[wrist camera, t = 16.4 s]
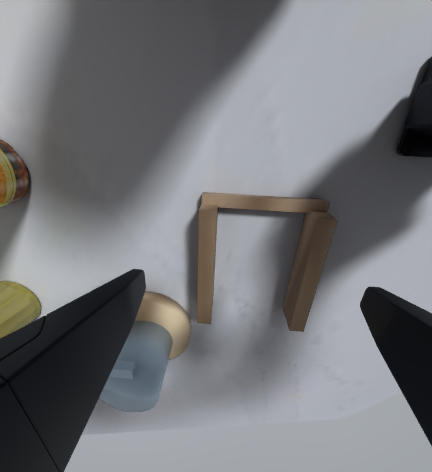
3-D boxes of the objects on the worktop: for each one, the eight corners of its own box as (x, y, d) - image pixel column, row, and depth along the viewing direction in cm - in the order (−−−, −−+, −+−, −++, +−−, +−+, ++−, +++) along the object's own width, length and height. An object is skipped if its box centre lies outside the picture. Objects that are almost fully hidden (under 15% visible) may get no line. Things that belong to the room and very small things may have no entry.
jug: (171, 318, 24) (154, 372, 19) (174, 371, 28) (160, 428, 22) (118, 314, 24) (86, 366, 19) (128, 367, 28) (104, 423, 23)
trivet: (191, 294, 24) (188, 304, 23) (191, 354, 29) (189, 365, 27) (104, 288, 25) (97, 297, 23) (117, 347, 29) (111, 358, 28)
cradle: (324, 199, 19) (340, 210, 16) (295, 309, 24) (303, 331, 22) (203, 192, 19) (198, 201, 17) (200, 302, 25) (197, 322, 22)
